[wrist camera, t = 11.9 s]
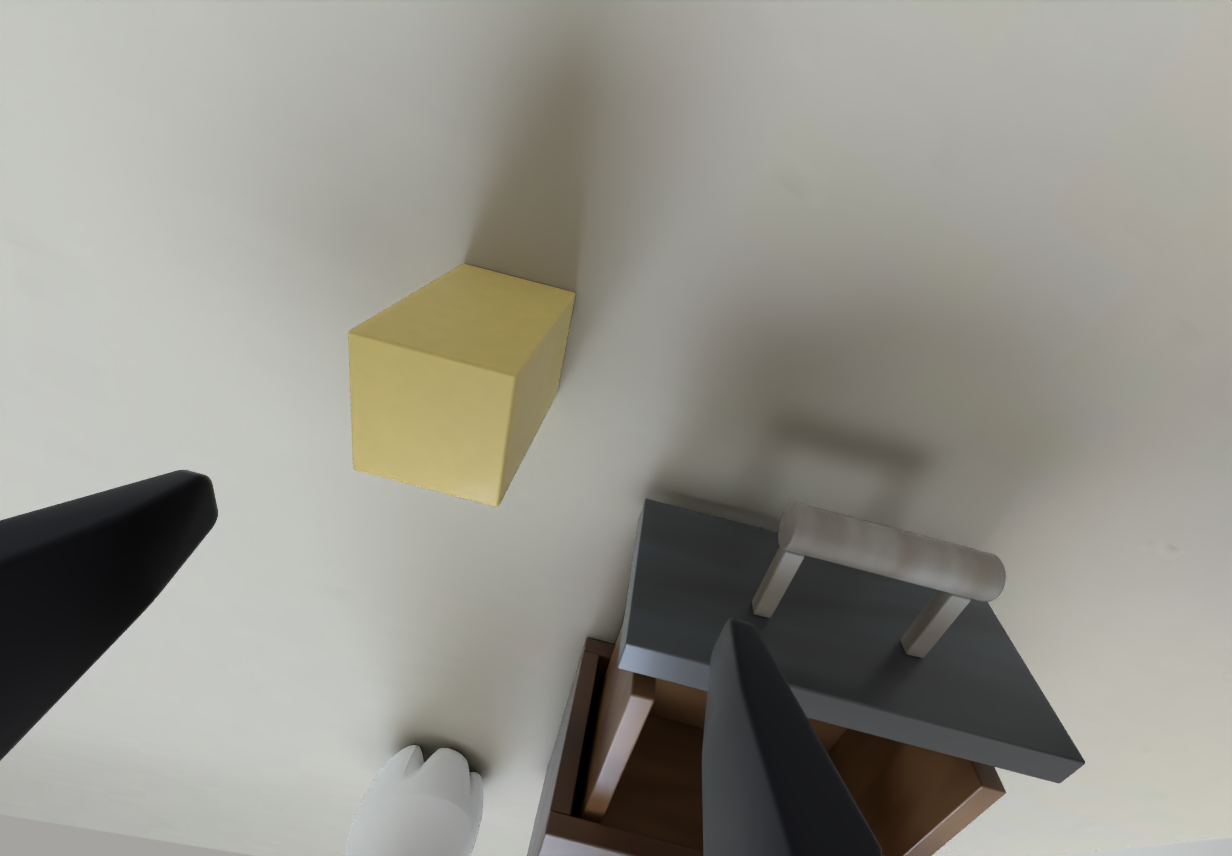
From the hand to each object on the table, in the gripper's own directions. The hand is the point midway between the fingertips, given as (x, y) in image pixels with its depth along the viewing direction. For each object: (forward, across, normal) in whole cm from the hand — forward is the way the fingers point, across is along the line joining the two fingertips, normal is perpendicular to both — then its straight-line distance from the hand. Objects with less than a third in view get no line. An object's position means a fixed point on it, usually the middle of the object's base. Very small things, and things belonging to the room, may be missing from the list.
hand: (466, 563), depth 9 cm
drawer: (+11, -10, +10) cm, 18 cm away
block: (+11, +3, +1) cm, 12 cm away
